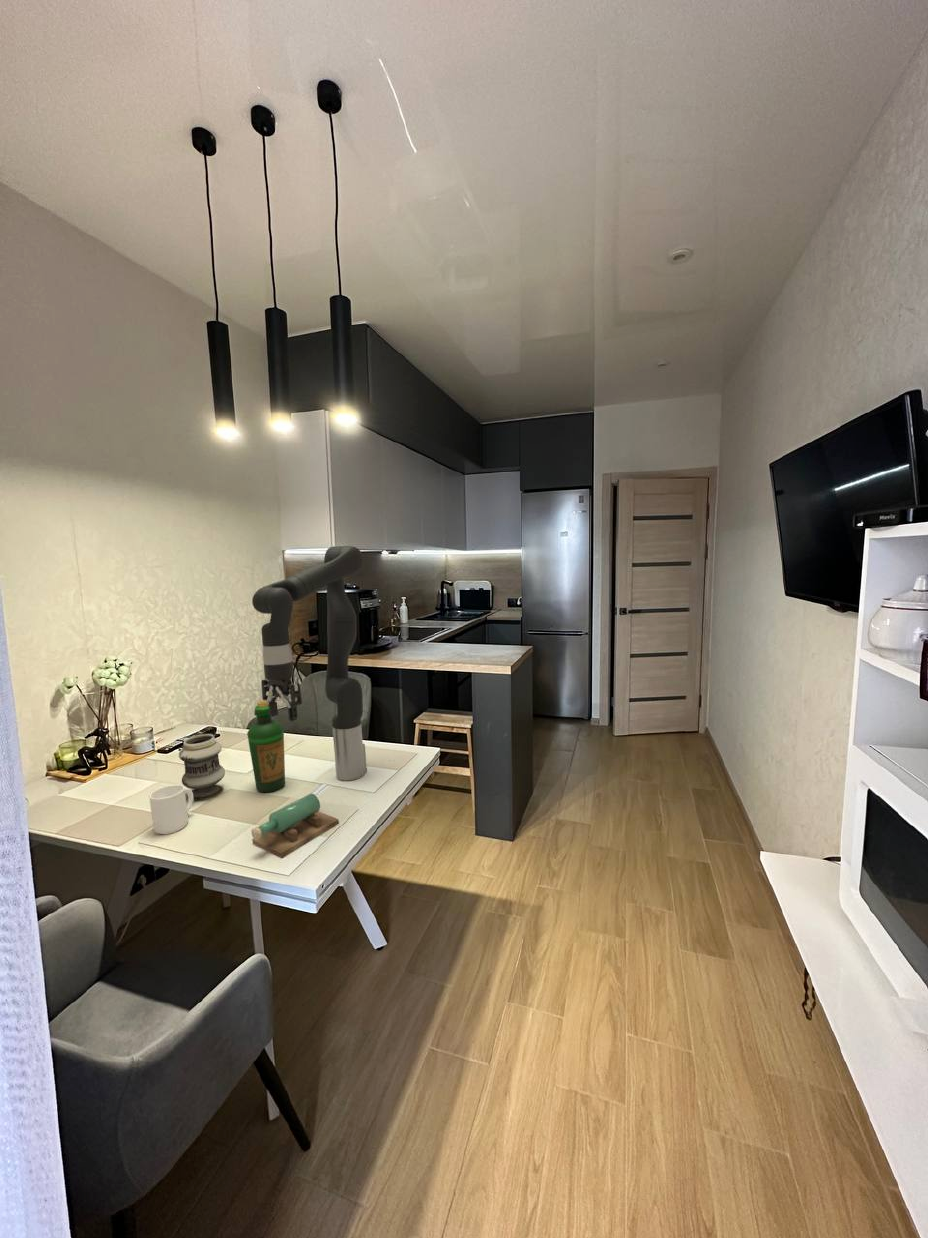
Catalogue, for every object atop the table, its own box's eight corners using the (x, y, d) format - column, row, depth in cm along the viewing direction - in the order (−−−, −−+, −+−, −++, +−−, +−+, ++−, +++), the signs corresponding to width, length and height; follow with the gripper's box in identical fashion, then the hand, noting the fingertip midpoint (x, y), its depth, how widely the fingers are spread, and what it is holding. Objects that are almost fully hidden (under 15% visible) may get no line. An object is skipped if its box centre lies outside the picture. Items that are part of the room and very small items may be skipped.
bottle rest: (310, 812, 142) (308, 800, 141) (338, 823, 135) (337, 810, 134) (252, 843, 127) (251, 830, 126) (281, 858, 120) (280, 844, 120)
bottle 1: (276, 796, 152) (268, 707, 149) (245, 794, 154) (236, 707, 151) (295, 780, 162) (287, 697, 159) (265, 779, 165) (257, 697, 161)
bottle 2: (308, 809, 137) (306, 791, 136) (320, 814, 134) (319, 795, 133) (249, 841, 122) (247, 821, 122) (262, 847, 119) (260, 827, 119)
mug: (184, 811, 146) (179, 777, 144) (206, 814, 143) (202, 780, 142) (146, 833, 134) (141, 797, 133) (169, 837, 132) (165, 800, 130)
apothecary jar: (177, 804, 149) (170, 747, 147) (192, 786, 161) (186, 733, 159) (219, 800, 151) (213, 743, 149) (231, 782, 163) (226, 729, 161)
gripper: (306, 660, 135) (311, 717, 137) (274, 656, 143) (279, 710, 145) (282, 665, 129) (288, 726, 131) (250, 661, 137) (255, 718, 139)
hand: (283, 717), depth 138 cm, fingers open, 8 cm apart
